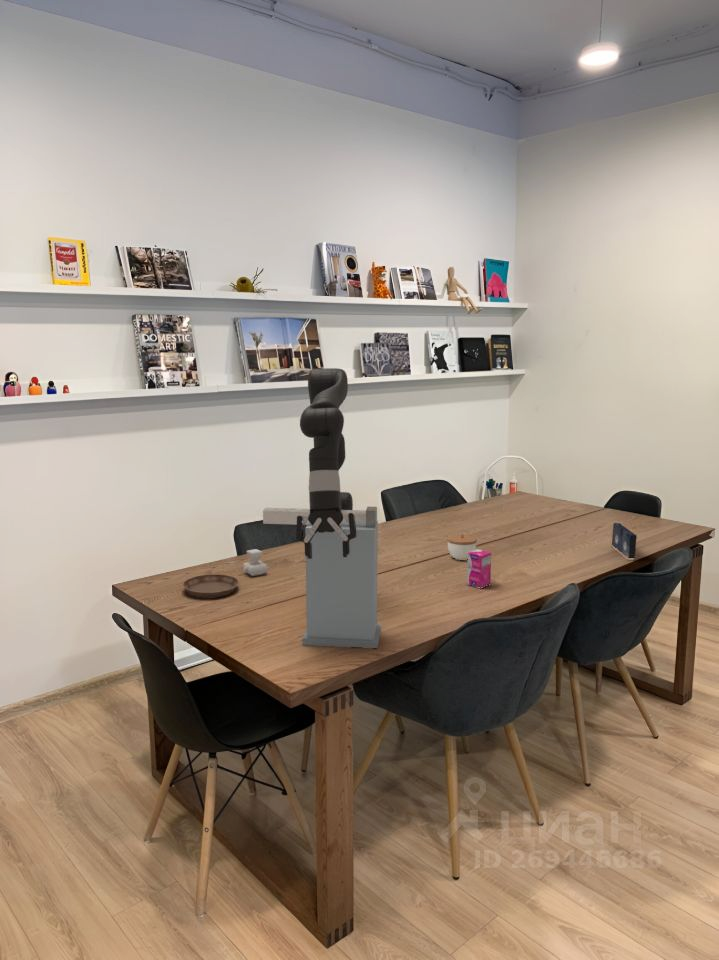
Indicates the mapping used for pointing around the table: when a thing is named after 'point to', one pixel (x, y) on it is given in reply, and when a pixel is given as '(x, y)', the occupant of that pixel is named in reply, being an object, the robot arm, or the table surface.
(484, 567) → the supplement box
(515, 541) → the table surface
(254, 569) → the stamp
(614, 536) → the vhs cassette tape
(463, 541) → the lidded jar
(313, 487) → the robot arm
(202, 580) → the plant saucer
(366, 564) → the stand
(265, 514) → the shaft
